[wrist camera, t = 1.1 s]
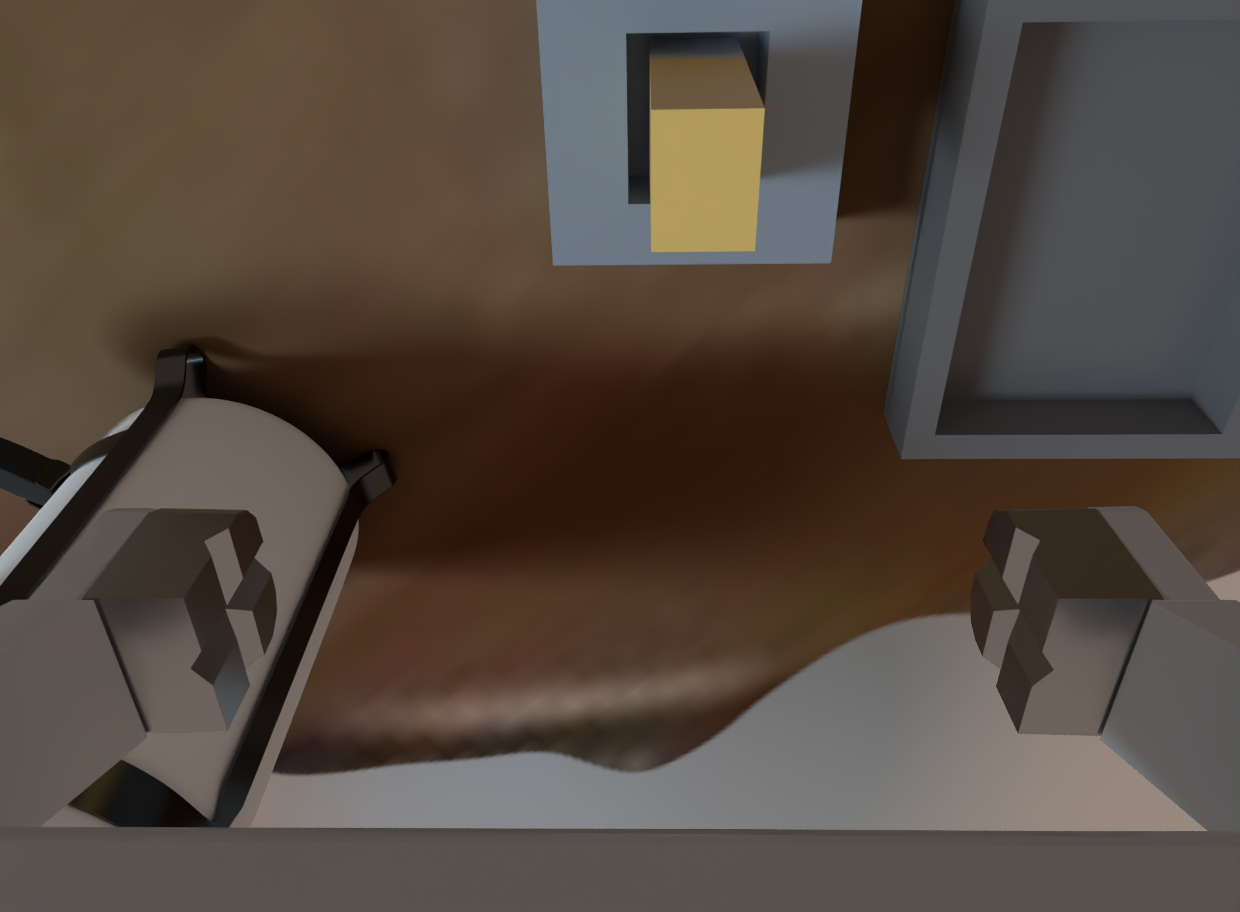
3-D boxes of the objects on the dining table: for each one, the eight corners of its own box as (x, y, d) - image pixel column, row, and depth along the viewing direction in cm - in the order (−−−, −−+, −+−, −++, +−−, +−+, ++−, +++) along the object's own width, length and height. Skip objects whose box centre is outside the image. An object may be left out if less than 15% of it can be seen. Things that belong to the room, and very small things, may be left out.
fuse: (649, 38, 32) (651, 109, 25) (736, 37, 32) (764, 108, 25) (649, 155, 34) (651, 252, 27) (730, 154, 34) (754, 251, 27)
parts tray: (960, -36, 31) (992, -20, 29) (1384, -44, 31) (1459, -28, 28) (883, 414, 42) (900, 459, 39) (1200, 412, 41) (1241, 458, 39)
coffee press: (356, 305, 39) (-123, 1147, 15) (430, 585, 48) (212, 1391, 24) (-36, 330, 40) (-1091, 1154, 16) (109, 599, 49) (-415, 1384, 25)
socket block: (544, -63, 31) (533, -47, 28) (844, -68, 31) (868, -52, 28) (561, 224, 37) (553, 265, 34) (814, 221, 37) (830, 263, 33)
